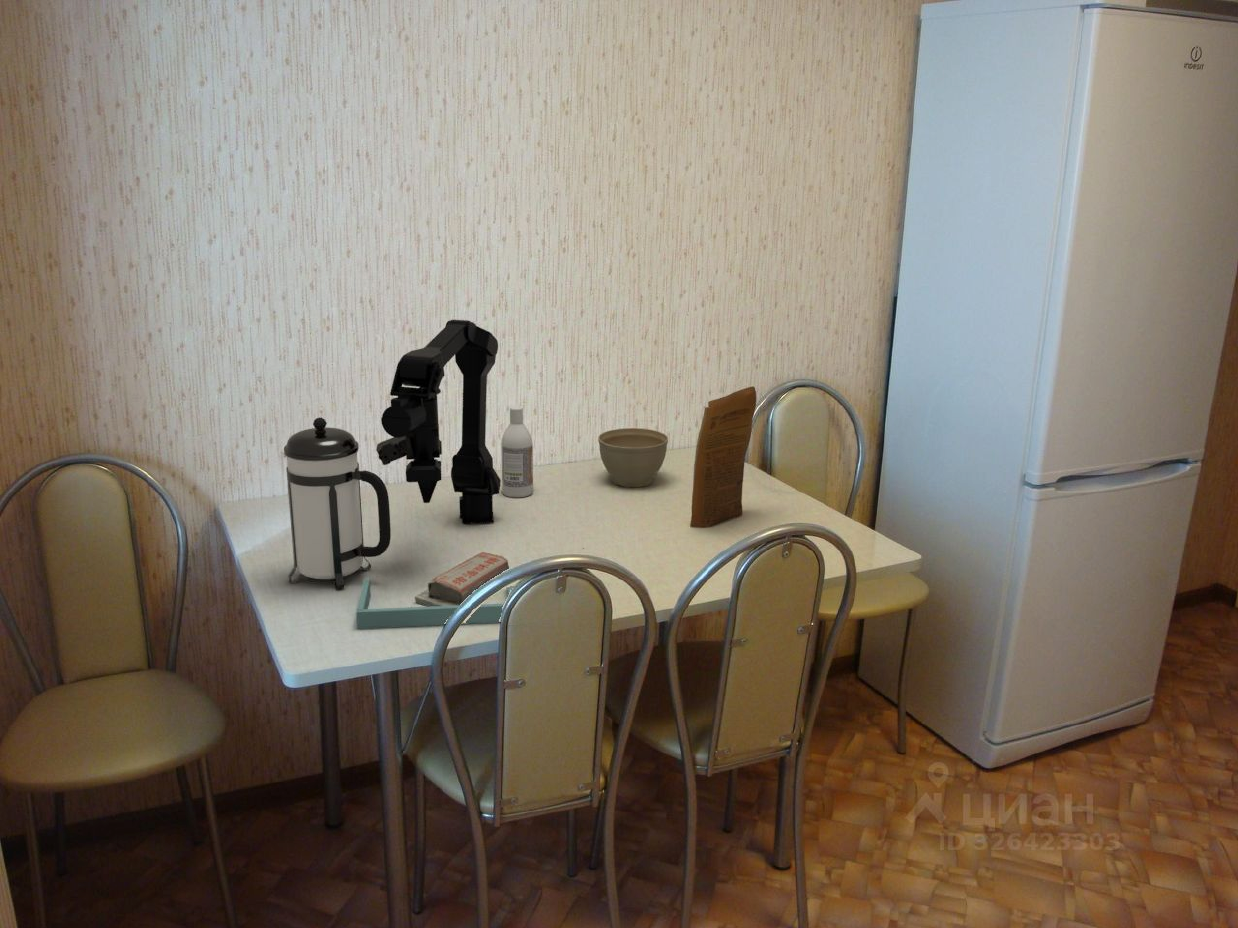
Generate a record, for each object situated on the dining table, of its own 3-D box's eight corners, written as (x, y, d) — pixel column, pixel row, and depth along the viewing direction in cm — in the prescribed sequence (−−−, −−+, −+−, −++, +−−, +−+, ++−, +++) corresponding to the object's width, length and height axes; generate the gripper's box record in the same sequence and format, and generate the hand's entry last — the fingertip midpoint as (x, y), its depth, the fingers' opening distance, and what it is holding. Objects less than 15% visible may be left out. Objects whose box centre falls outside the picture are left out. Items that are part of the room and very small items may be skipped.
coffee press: (295, 599, 189) (281, 434, 180) (283, 566, 203) (270, 411, 194) (394, 584, 196) (386, 424, 187) (376, 553, 210) (367, 403, 201)
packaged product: (474, 546, 203) (518, 556, 198) (474, 570, 204) (519, 581, 200) (412, 579, 188) (459, 591, 183) (413, 605, 189) (460, 617, 185)
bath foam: (535, 497, 243) (534, 410, 237) (504, 499, 241) (502, 412, 235) (530, 487, 249) (529, 403, 243) (500, 489, 248) (498, 404, 242)
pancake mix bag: (760, 513, 235) (768, 387, 227) (701, 534, 222) (706, 401, 214) (737, 505, 240) (743, 381, 231) (677, 525, 227) (681, 395, 219)
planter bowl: (589, 474, 260) (590, 430, 256) (653, 469, 264) (654, 425, 261) (609, 495, 245) (609, 449, 242) (676, 489, 250) (677, 444, 246)
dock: (512, 589, 195) (512, 573, 194) (515, 621, 182) (515, 605, 181) (364, 595, 192) (363, 579, 191) (357, 628, 179) (356, 612, 178)
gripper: (380, 410, 207) (385, 487, 212) (374, 438, 189) (380, 522, 194) (440, 408, 208) (443, 485, 213) (439, 436, 191) (443, 519, 196)
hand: (426, 502), depth 204 cm, fingers closed
